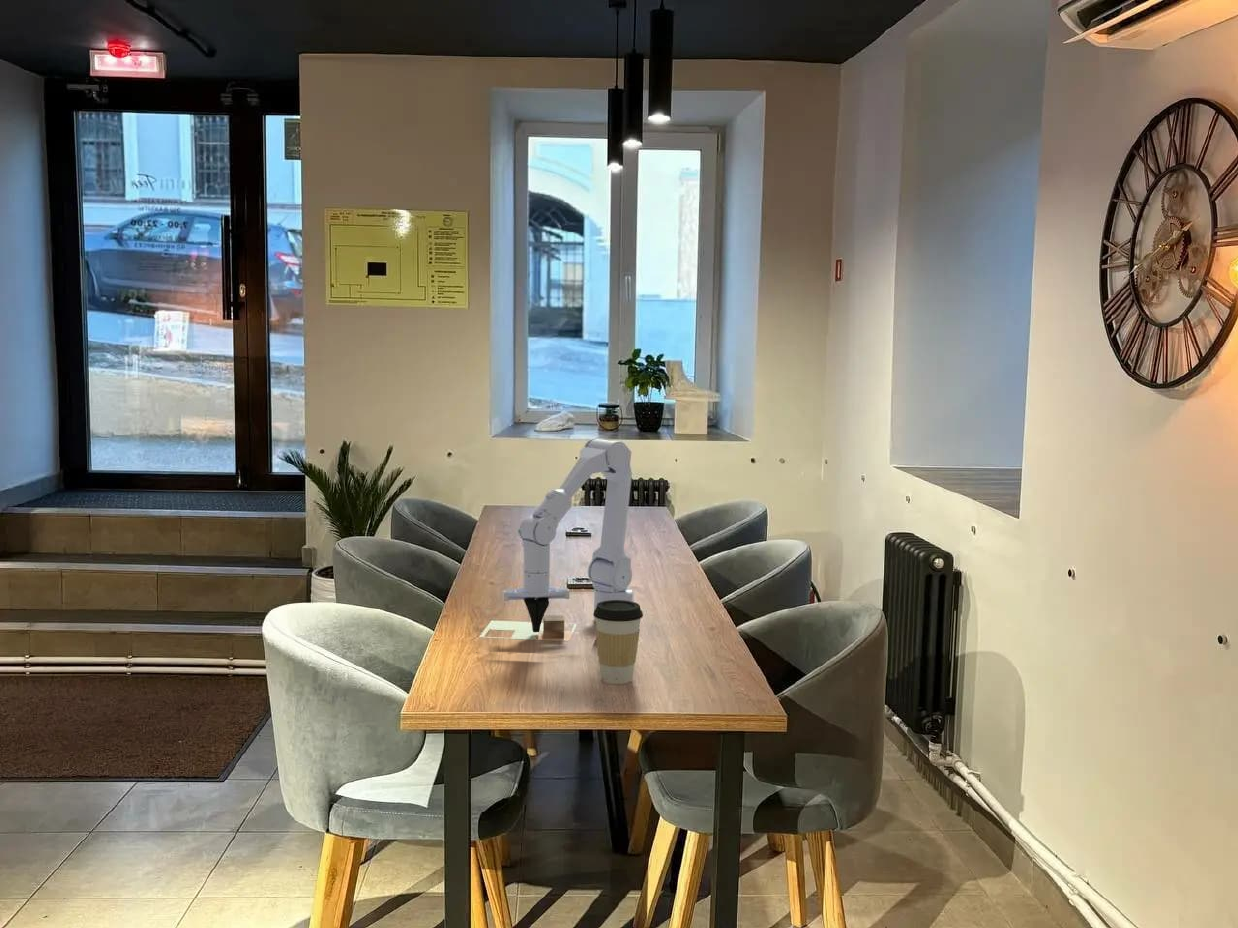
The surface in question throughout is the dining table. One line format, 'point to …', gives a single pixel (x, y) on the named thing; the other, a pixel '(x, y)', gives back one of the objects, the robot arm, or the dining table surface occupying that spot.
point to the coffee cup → (617, 639)
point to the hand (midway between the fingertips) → (535, 631)
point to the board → (523, 630)
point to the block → (553, 626)
